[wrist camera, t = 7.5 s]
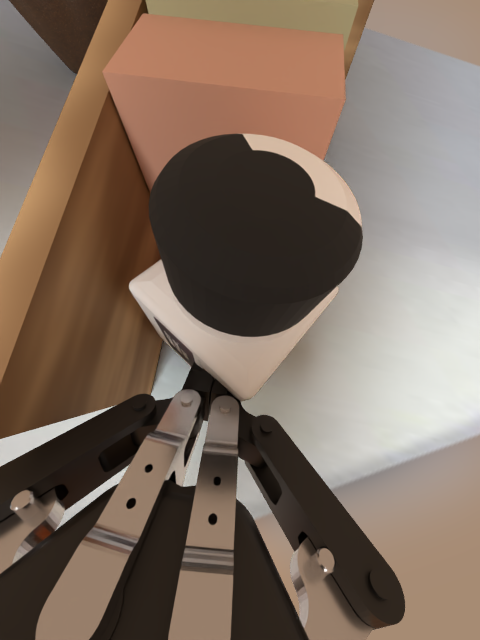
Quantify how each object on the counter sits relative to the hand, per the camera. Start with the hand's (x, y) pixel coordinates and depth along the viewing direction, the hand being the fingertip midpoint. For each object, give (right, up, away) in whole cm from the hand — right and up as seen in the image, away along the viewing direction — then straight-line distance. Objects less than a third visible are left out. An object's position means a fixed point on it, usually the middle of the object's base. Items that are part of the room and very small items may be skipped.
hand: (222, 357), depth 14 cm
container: (0, +1, +4) cm, 4 cm away
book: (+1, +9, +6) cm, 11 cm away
